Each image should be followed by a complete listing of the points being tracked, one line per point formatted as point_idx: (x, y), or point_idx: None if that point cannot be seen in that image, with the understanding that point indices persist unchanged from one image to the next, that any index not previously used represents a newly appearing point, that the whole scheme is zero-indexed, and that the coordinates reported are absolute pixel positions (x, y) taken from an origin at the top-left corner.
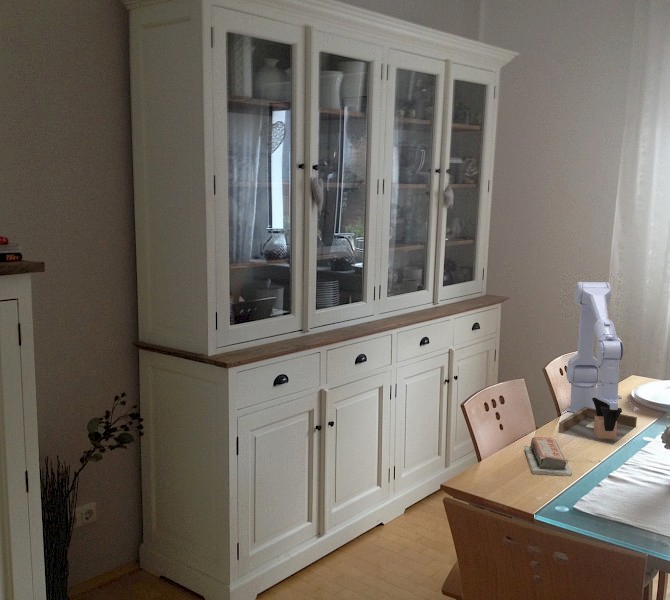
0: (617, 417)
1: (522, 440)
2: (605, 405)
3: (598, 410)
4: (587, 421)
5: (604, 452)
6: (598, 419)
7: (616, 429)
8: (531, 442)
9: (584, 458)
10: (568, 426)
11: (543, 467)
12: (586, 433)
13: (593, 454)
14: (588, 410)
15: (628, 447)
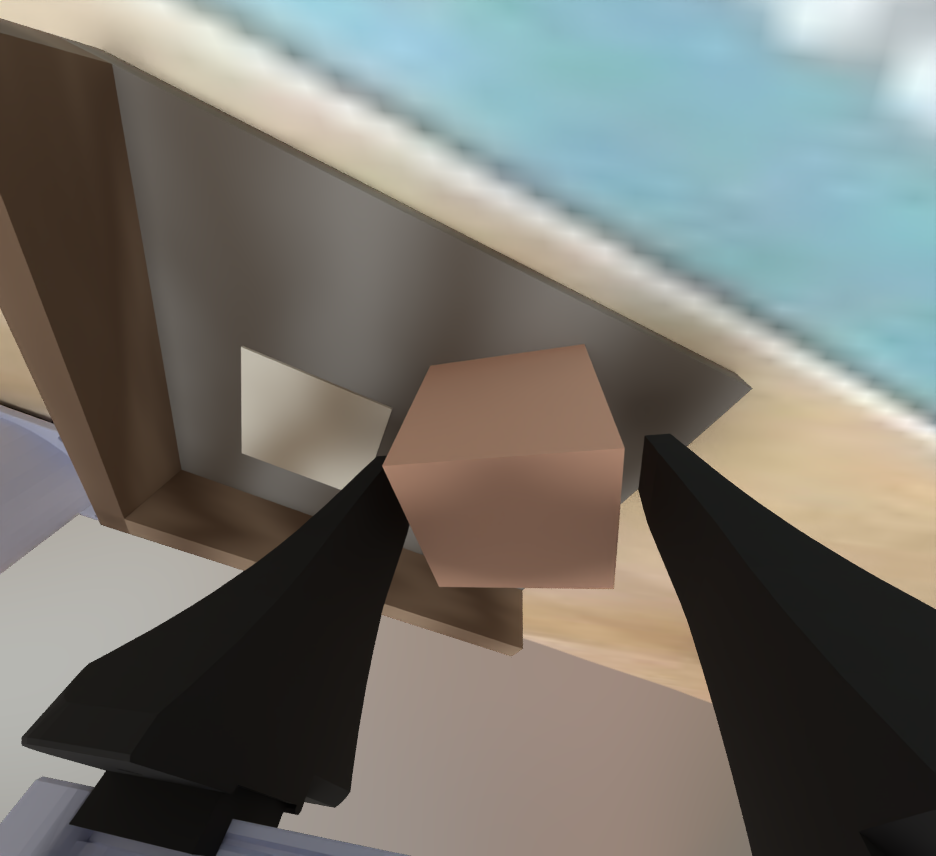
0: (890, 588)
1: (595, 661)
2: (307, 648)
3: (374, 612)
4: (252, 474)
5: (829, 440)
6: (540, 582)
7: (600, 389)
8: None
9: (905, 547)
10: None
11: None
12: None
13: (848, 501)
14: (133, 502)
15: (742, 224)
